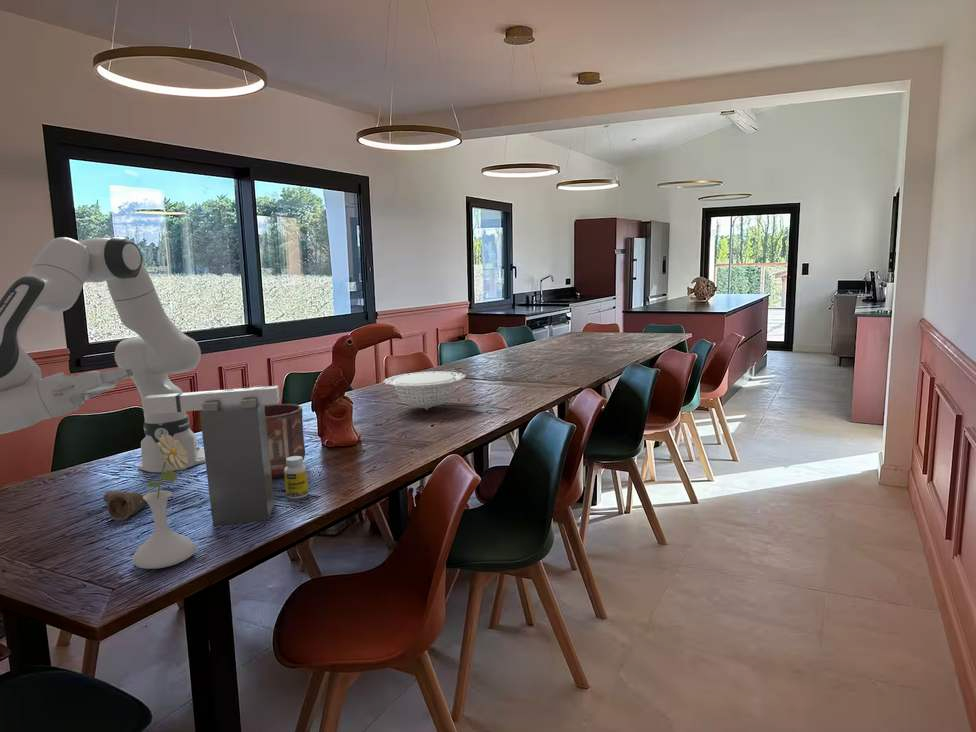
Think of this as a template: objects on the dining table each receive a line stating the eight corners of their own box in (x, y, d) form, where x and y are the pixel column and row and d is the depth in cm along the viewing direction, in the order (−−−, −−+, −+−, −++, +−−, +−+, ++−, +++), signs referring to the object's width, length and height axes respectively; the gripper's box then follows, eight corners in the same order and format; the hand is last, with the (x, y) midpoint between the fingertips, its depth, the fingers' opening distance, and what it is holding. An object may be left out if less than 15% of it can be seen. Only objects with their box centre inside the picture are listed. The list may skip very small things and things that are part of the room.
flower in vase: (163, 578, 123) (146, 448, 119) (119, 570, 127) (101, 445, 124) (215, 549, 135) (201, 430, 131) (173, 543, 139) (159, 428, 136)
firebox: (220, 510, 157) (207, 396, 153) (274, 504, 160) (262, 392, 155) (211, 526, 148) (197, 405, 143) (268, 520, 150) (256, 400, 146)
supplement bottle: (286, 500, 162) (282, 462, 161) (286, 493, 167) (282, 456, 166) (309, 497, 164) (305, 459, 162) (308, 490, 169) (305, 453, 167)
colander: (368, 413, 256) (366, 381, 254) (426, 398, 279) (424, 368, 277) (426, 423, 235) (424, 388, 233) (484, 406, 259) (482, 374, 257)
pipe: (117, 481, 169) (77, 488, 160) (160, 488, 161) (121, 495, 152) (117, 506, 169) (77, 514, 160) (159, 514, 161) (120, 523, 152)
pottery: (243, 468, 191) (237, 407, 188) (306, 460, 196) (300, 401, 193) (240, 486, 174) (233, 420, 172) (309, 477, 180) (303, 413, 177)
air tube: (150, 411, 148) (148, 395, 148) (279, 400, 153) (278, 385, 153) (145, 414, 145) (143, 398, 144) (277, 404, 150) (276, 388, 149)
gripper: (42, 379, 133) (115, 356, 138) (67, 380, 153) (131, 359, 157) (54, 408, 134) (127, 384, 139) (78, 405, 153) (141, 384, 158)
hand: (129, 371), depth 148 cm, fingers open, 8 cm apart
